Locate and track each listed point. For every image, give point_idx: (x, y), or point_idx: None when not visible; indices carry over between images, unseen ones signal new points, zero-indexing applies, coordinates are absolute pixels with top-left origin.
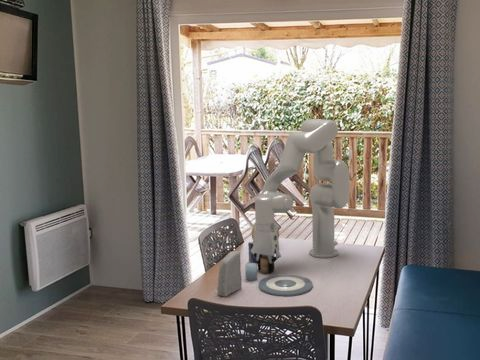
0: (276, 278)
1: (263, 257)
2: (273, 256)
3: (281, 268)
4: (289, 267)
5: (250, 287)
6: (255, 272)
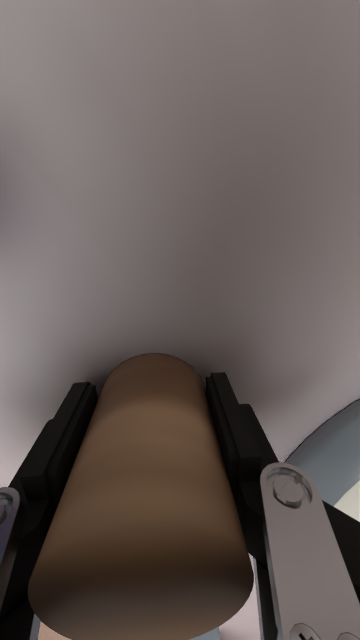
0: (352, 506)
1: (98, 605)
2: (334, 613)
3: (223, 221)
4: (294, 117)
5: (245, 603)
6: (218, 629)
